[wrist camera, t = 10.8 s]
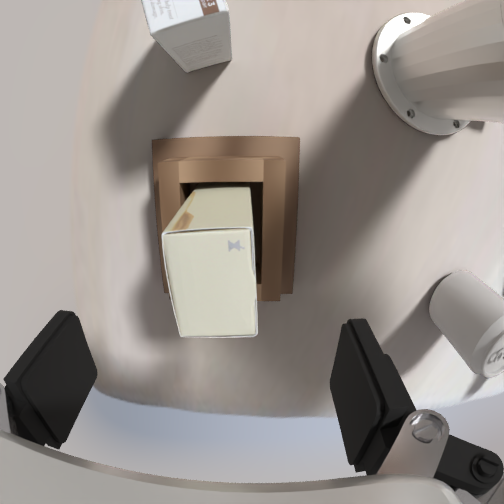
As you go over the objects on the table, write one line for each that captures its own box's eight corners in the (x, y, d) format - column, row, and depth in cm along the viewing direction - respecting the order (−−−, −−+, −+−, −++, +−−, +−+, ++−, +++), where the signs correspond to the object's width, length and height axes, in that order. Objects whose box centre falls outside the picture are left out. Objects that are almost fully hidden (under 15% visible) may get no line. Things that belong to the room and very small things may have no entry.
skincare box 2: (197, 181, 25) (156, 224, 13) (250, 178, 25) (254, 219, 13) (204, 254, 27) (177, 341, 16) (253, 252, 27) (259, 339, 16)
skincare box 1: (170, 19, 21) (122, -42, 9) (219, 4, 20) (202, -69, 9) (186, 77, 23) (141, 38, 12) (237, 62, 22) (230, 9, 11)
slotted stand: (296, 137, 25) (309, 138, 20) (290, 286, 30) (298, 317, 25) (157, 139, 25) (135, 141, 20) (167, 285, 30) (154, 315, 25)
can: (467, 314, 32) (517, 370, 21) (421, 327, 33) (468, 393, 22) (477, 262, 30) (540, 312, 19) (429, 272, 30) (492, 333, 19)
